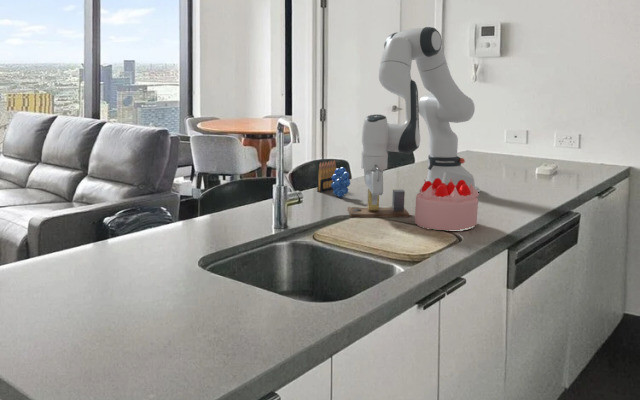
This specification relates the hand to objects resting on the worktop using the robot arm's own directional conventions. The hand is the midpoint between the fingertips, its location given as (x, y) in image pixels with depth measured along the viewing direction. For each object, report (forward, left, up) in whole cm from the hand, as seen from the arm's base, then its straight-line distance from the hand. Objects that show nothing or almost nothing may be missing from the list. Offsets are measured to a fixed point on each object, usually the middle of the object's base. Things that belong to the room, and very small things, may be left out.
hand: (373, 202), depth 224 cm
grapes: (+8, -27, -4) cm, 28 cm away
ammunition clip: (+13, -41, -4) cm, 43 cm away
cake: (-22, +16, -4) cm, 27 cm away
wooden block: (0, 0, -2) cm, 2 cm away
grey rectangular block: (-9, 0, -4) cm, 9 cm away
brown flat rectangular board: (-2, 0, -4) cm, 4 cm away
